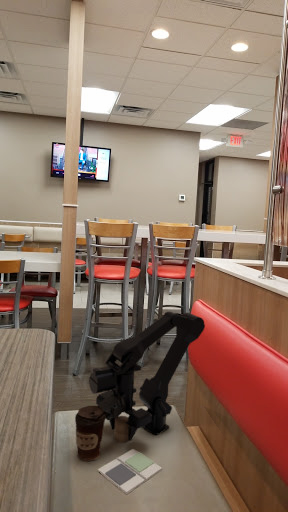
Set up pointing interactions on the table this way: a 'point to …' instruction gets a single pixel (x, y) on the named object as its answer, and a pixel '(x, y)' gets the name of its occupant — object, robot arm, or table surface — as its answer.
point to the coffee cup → (89, 431)
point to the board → (129, 470)
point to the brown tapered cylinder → (121, 429)
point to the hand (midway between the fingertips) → (121, 434)
